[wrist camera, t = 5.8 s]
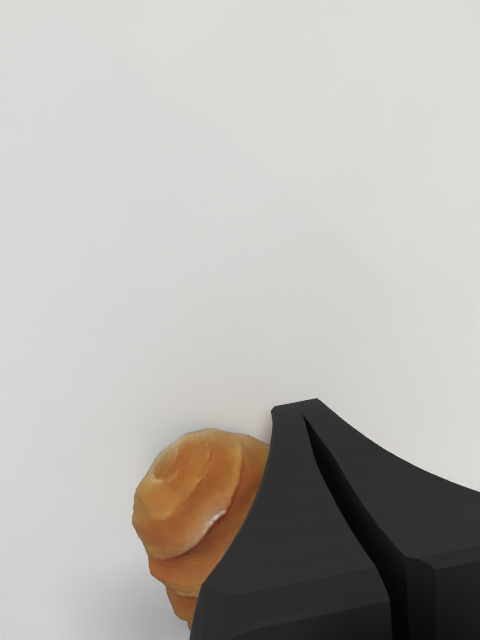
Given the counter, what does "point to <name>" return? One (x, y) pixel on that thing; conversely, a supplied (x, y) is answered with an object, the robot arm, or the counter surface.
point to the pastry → (196, 508)
